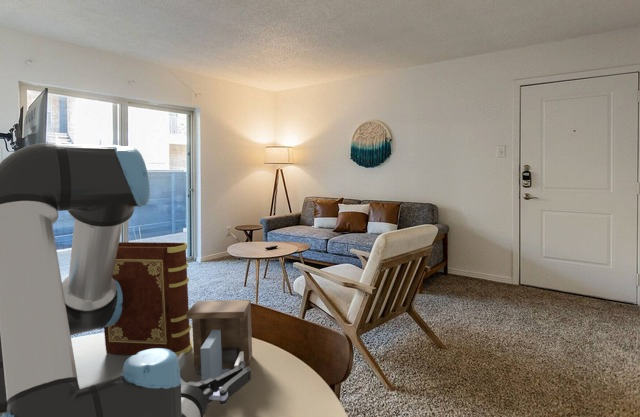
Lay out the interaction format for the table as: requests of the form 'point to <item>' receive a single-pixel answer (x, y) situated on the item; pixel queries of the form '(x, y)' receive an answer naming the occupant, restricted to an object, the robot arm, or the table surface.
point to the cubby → (222, 328)
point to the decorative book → (151, 299)
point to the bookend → (212, 357)
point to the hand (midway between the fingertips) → (212, 357)
